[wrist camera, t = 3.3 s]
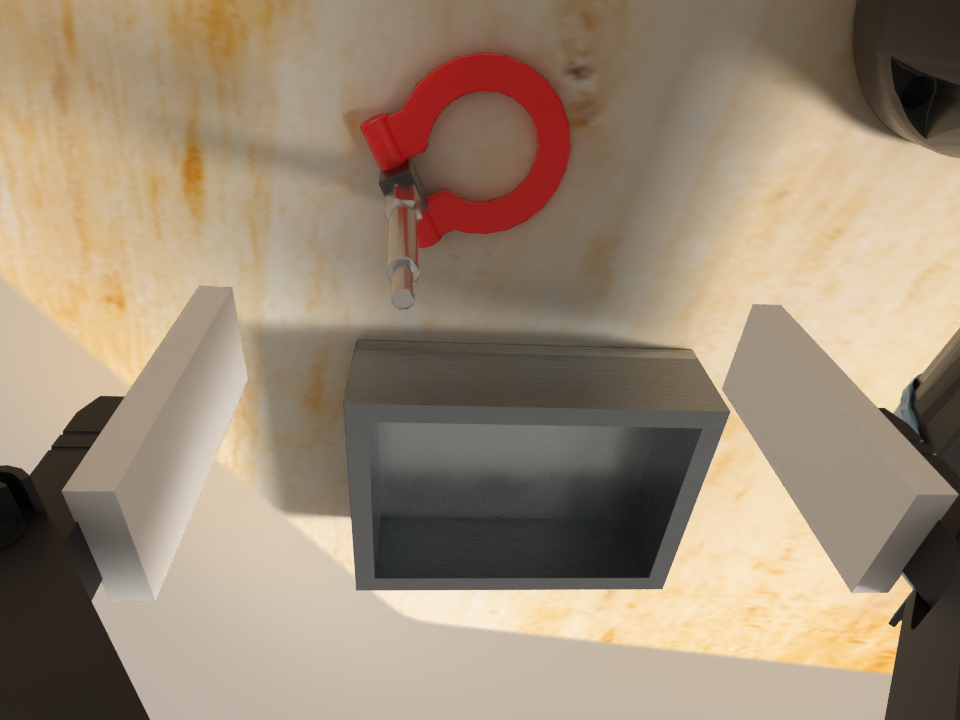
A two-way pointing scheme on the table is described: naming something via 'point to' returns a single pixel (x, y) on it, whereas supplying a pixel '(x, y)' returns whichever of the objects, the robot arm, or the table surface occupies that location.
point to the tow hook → (443, 211)
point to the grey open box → (524, 463)
